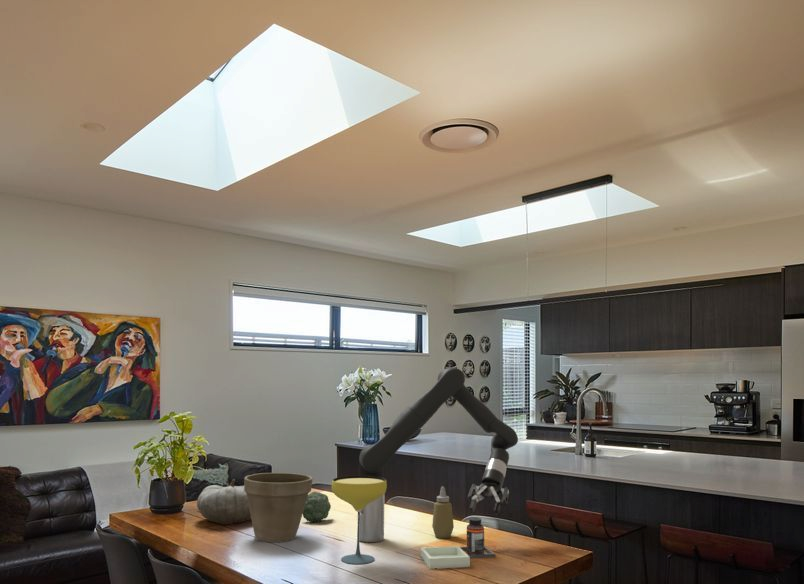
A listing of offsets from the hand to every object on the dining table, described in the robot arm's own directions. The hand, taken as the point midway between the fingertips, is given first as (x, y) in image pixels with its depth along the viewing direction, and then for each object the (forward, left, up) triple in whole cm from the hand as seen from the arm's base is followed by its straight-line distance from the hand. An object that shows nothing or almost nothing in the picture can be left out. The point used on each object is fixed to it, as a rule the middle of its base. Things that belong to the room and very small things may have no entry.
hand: (483, 512), depth 216 cm
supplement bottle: (-5, -6, -12) cm, 14 cm away
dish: (-18, -14, -12) cm, 26 cm away
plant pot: (-71, +26, -12) cm, 77 cm away
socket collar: (-5, -6, -12) cm, 14 cm away
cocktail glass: (-45, -7, -12) cm, 47 cm away
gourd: (-91, +56, -12) cm, 107 cm away
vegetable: (-56, +53, -12) cm, 78 cm away
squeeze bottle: (-10, +18, -12) cm, 24 cm away
